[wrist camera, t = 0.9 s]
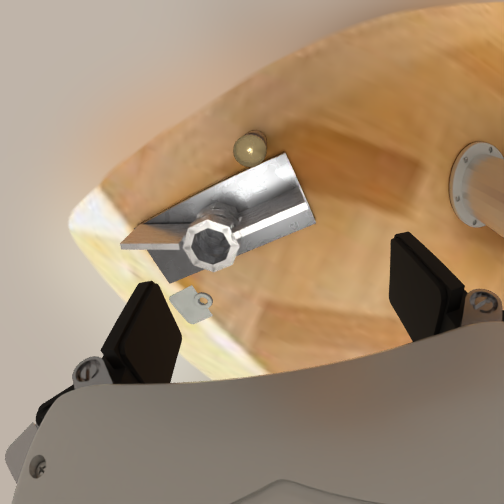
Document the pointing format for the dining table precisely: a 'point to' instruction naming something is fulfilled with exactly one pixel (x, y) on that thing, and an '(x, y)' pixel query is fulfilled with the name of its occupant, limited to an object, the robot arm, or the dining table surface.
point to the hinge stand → (243, 209)
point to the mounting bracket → (191, 305)
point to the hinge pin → (250, 148)
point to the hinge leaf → (173, 236)
